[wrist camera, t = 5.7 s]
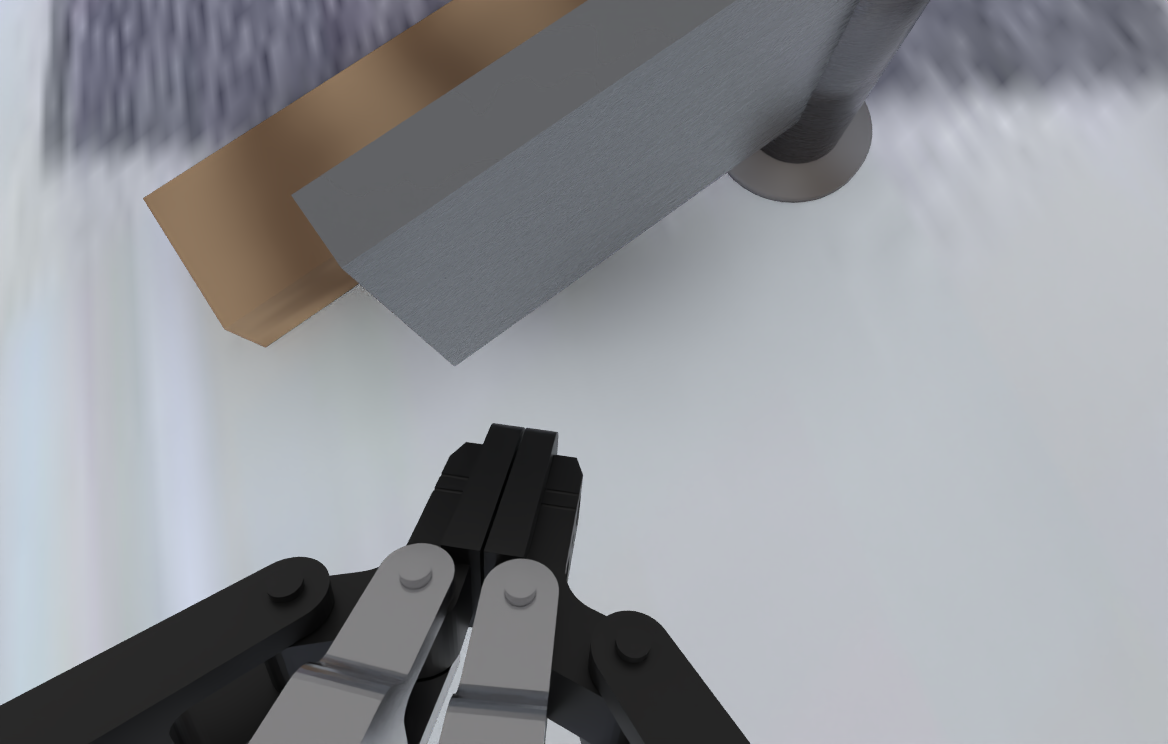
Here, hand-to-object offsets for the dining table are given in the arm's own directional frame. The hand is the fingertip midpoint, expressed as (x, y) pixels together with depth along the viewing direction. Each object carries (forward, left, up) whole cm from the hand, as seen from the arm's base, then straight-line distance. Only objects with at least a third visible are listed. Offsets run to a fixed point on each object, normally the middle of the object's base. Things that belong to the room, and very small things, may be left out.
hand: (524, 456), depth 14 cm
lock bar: (-4, -9, -6) cm, 12 cm away
